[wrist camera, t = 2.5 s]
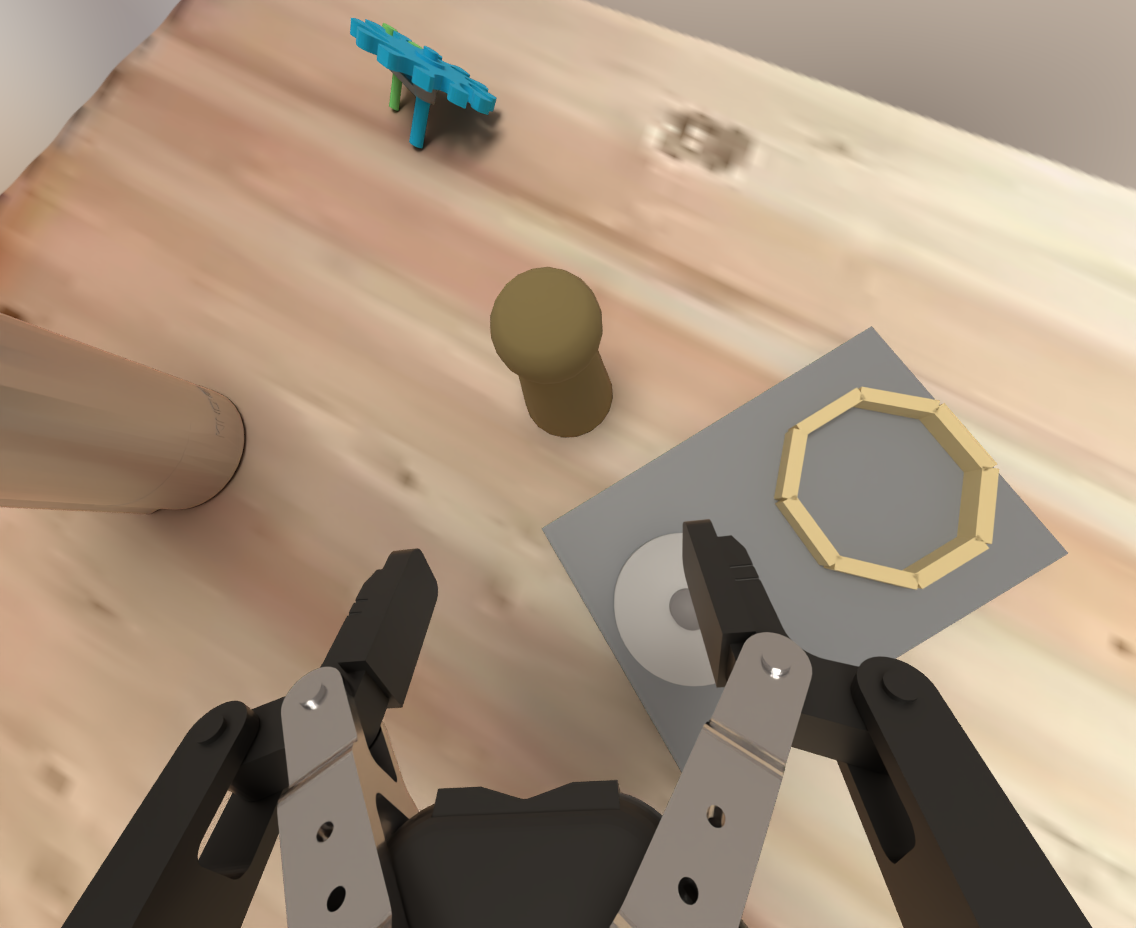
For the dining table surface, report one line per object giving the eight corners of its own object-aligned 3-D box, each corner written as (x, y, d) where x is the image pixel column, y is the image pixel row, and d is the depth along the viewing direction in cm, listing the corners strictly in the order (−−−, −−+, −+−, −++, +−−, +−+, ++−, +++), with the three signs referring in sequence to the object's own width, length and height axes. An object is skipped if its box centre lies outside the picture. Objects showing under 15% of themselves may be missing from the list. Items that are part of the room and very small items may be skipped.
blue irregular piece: (523, 108, 31) (390, 46, 24) (498, 191, 35) (377, 158, 28) (454, 47, 34) (322, -21, 28) (438, 128, 38) (319, 86, 32)
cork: (566, 336, 29) (537, 218, 18) (631, 389, 28) (641, 296, 17) (507, 399, 29) (442, 316, 18) (571, 455, 27) (543, 403, 17)
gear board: (684, 772, 23) (697, 815, 20) (544, 528, 27) (534, 527, 23) (1045, 552, 23) (1124, 555, 20) (860, 335, 27) (898, 303, 23)
